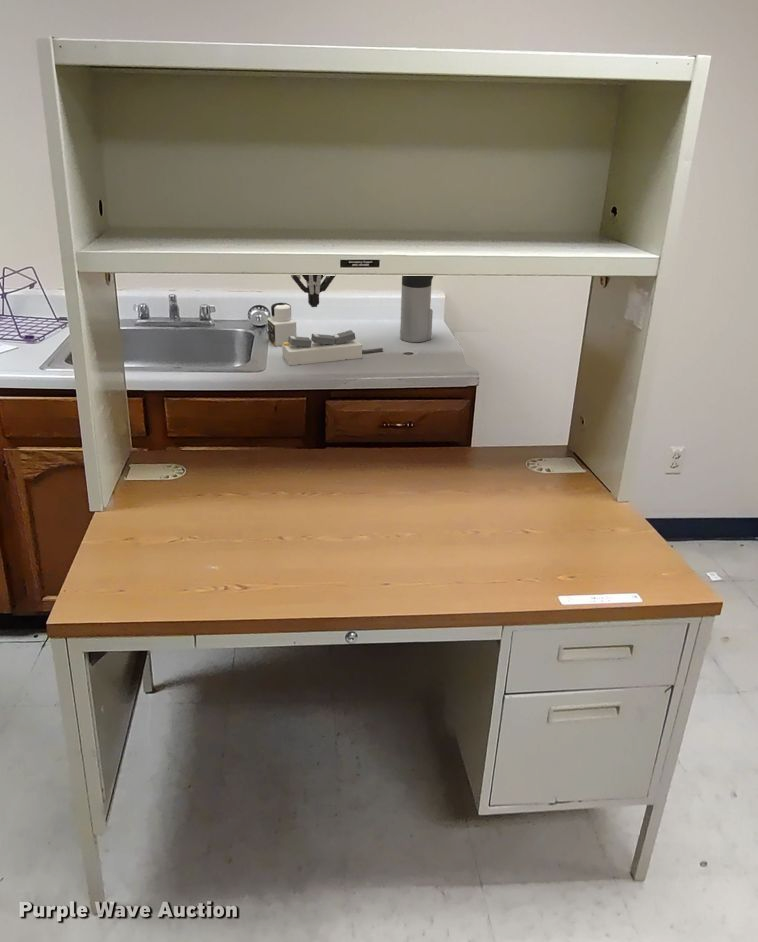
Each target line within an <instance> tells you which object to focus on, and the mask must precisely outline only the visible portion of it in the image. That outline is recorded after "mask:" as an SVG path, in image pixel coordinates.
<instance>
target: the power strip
mask: <svg viewBox="0 0 758 942" xmlns="http://www.w3.org/2000/svg"><path fill="white" fill-rule="evenodd" d="M311 341H312V340H311ZM281 348H282V351H281V352H282V359H284V361H285V362H286V363H287V364H288V365H289V366H290V365H291V366H299V365H298V364H301V365H306V364H317V363H318V364H319V363H328V362H336V361H337V362H338V361H345V359H348V360H356V359H362V358H363V354H368V353H369V354H372V353H379V352H384V348H382V347H379V348H371V349H369V348H368V349H363V344H362V343H360V342H359V341H358V340H357V339H354V340H351V341H347V342H344V343H340V344H336V343H335V342H334V345H331V344H319V343H314V342H313V341H312V343H311V347H305V346H292V345H290V344H289V343H288V342H283V344H282V347H281Z"/></svg>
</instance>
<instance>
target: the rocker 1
mask: <svg viewBox="0 0 758 942" xmlns="http://www.w3.org/2000/svg"><path fill="white" fill-rule="evenodd" d="M288 343H289V344H290V345H292V346H305V347H311V343H312V340H311V338H310V337H307V336H298V335H297V336H289V337H288Z"/></svg>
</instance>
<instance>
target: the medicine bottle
mask: <svg viewBox="0 0 758 942" xmlns="http://www.w3.org/2000/svg"><path fill="white" fill-rule="evenodd" d="M270 309H271V313H270V314H271V317H268V318H267V333H268V334H267V335H268V336H267V337H268V341H269V342H271V344H273V345H274V347H280V346H282V344H283V342H288V337H289V336H297V337H298V335H297V321H295V319H293V318H292V306H291V304H290V303H287V302H275V303H273V304H271V306H270Z"/></svg>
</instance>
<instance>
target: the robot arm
mask: <svg viewBox="0 0 758 942" xmlns="http://www.w3.org/2000/svg"><path fill="white" fill-rule="evenodd" d="M290 277H291V279H292V280H293V281H294V282H295V283H296V285H297V286H298V287H299V288H300V289H301V291H302V292H304V293H305V294H307V297H308V298H307V300H308V302H307V303H308V305H309V306H310V307H311V308H318V305H319V304H320V293H322V292H325V291H326V290H327V289H328V287H329V286H330V284H331V283H332V281H333V280H334V279H335V277H336V275H335V276H325V275H324V276H323V275H301V274H300V275H291V274H290ZM324 277H325V278H324ZM302 278H303V279H304V281H305V282H306V286H305V285H304V283H303V282H302V281H301V279H302ZM433 278H434V276H403V275H402V277H401V296H400V297H401V298H400V323H399V324H400V328H399V329H400V330H399V335H400V336H399V339H400V340H402V341H404V342H409V343H422V342H423V343H424V342H427V341H429V340H432V335H433V334H432V332H433V331H432V328H433V314H434V313H433V309H432V308H431V297H432V281H433ZM322 280H323V281H322Z"/></svg>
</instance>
